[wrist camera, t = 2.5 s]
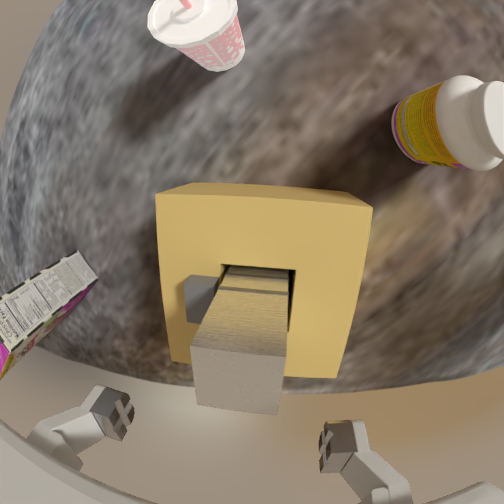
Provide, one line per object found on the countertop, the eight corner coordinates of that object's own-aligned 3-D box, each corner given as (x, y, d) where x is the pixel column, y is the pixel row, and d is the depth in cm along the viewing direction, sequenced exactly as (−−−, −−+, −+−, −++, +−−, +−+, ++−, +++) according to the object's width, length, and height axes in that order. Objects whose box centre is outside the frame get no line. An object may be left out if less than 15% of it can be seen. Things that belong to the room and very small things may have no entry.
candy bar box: (69, 317, 33) (-2, 383, 18) (49, 290, 32) (-27, 348, 17) (102, 278, 30) (9, 356, 15) (78, 247, 29) (-23, 308, 14)
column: (289, 240, 26) (289, 355, 11) (285, 281, 27) (278, 416, 12) (243, 236, 26) (187, 343, 11) (242, 278, 27) (195, 405, 12)
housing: (346, 192, 24) (380, 212, 15) (326, 327, 28) (337, 392, 19) (191, 182, 25) (142, 197, 16) (195, 315, 30) (163, 372, 21)
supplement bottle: (403, 172, 22) (489, 190, 10) (378, 104, 20) (451, 67, 8) (454, 154, 21) (545, 165, 9) (432, 91, 19) (516, 63, 7)
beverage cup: (242, 17, 19) (203, -74, 6) (261, 66, 21) (233, -19, 8) (182, 39, 20) (105, -29, 7) (198, 88, 22) (114, 34, 9)
